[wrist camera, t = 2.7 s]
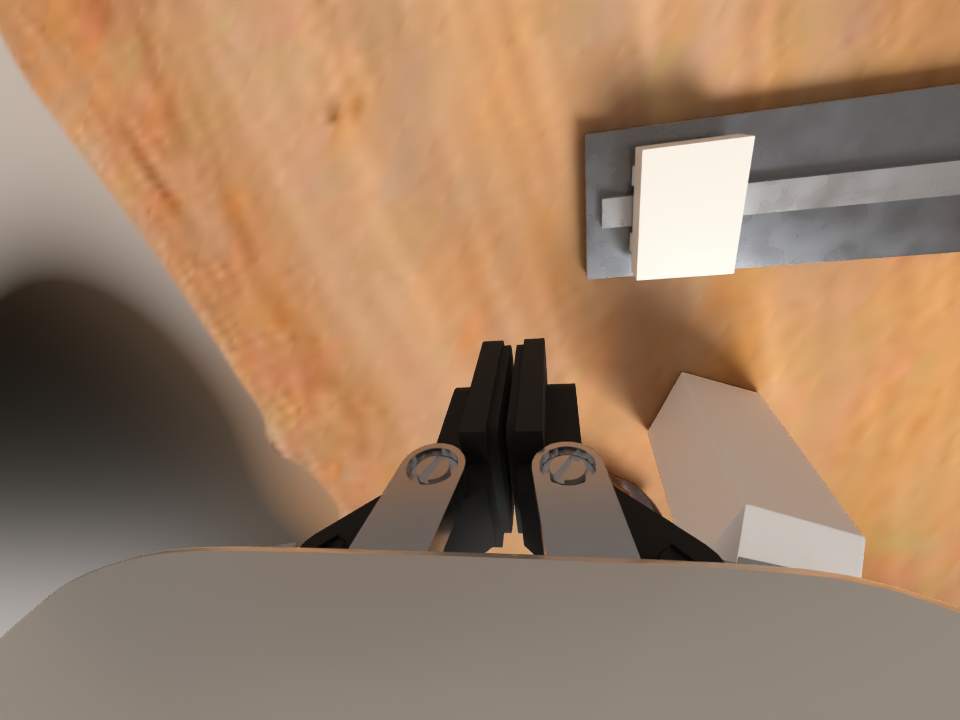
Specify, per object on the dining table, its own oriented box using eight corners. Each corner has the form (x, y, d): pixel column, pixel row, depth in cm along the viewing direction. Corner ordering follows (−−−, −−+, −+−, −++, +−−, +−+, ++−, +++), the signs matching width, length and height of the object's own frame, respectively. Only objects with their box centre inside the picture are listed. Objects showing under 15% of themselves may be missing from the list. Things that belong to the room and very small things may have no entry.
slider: (732, 132, 27) (755, 135, 24) (716, 257, 31) (733, 273, 28) (633, 145, 28) (642, 149, 25) (628, 264, 32) (636, 280, 29)
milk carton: (680, 370, 38) (777, 566, 22) (759, 392, 38) (916, 605, 22) (646, 431, 42) (706, 638, 25) (718, 451, 41) (825, 671, 25)
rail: (1087, 65, 25) (1199, 55, 21) (1008, 240, 30) (1085, 262, 25) (584, 133, 30) (589, 137, 26) (585, 273, 35) (590, 296, 31)
